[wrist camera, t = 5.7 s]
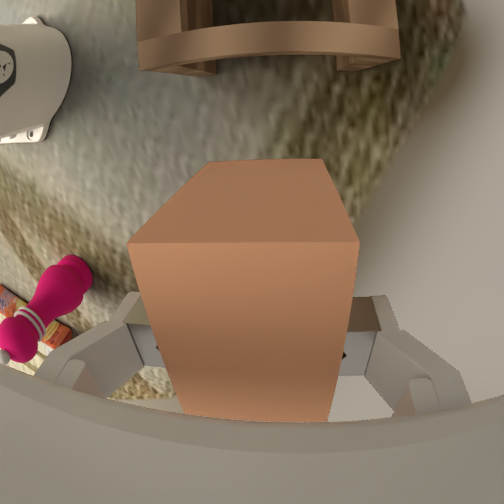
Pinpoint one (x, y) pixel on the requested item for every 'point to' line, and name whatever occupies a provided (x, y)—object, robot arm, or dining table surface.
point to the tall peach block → (250, 288)
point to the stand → (262, 36)
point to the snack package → (6, 304)
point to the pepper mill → (44, 308)
